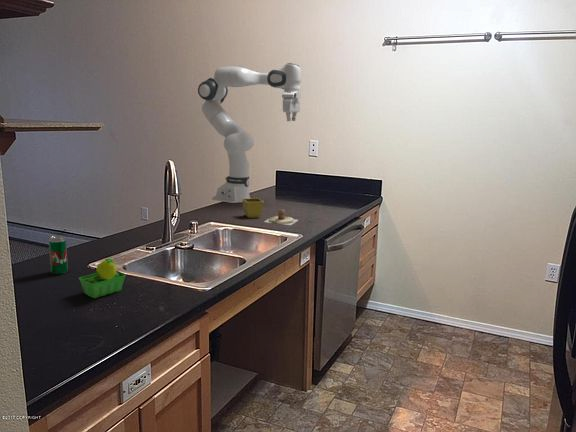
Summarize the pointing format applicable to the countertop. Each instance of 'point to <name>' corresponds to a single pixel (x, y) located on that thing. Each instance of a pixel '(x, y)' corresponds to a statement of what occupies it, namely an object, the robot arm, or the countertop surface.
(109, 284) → the fruit basket
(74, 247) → the countertop surface
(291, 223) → the mat
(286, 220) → the lid
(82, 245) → the countertop surface
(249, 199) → the flower pot
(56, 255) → the soda can
